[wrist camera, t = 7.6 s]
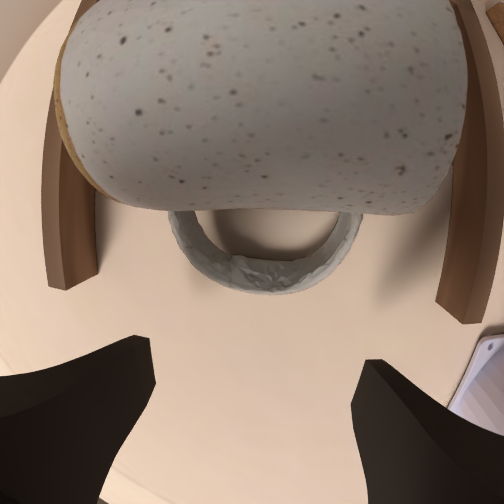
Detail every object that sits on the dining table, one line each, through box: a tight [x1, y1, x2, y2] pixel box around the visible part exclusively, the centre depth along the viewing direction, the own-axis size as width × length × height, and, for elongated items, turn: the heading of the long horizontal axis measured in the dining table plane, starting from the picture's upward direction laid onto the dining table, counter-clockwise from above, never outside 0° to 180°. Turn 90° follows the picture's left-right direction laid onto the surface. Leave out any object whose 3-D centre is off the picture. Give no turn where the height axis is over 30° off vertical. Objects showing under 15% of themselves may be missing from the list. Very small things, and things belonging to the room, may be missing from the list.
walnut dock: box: [41, 0, 504, 324], centre depth 8 cm, size 18×15×2 cm
